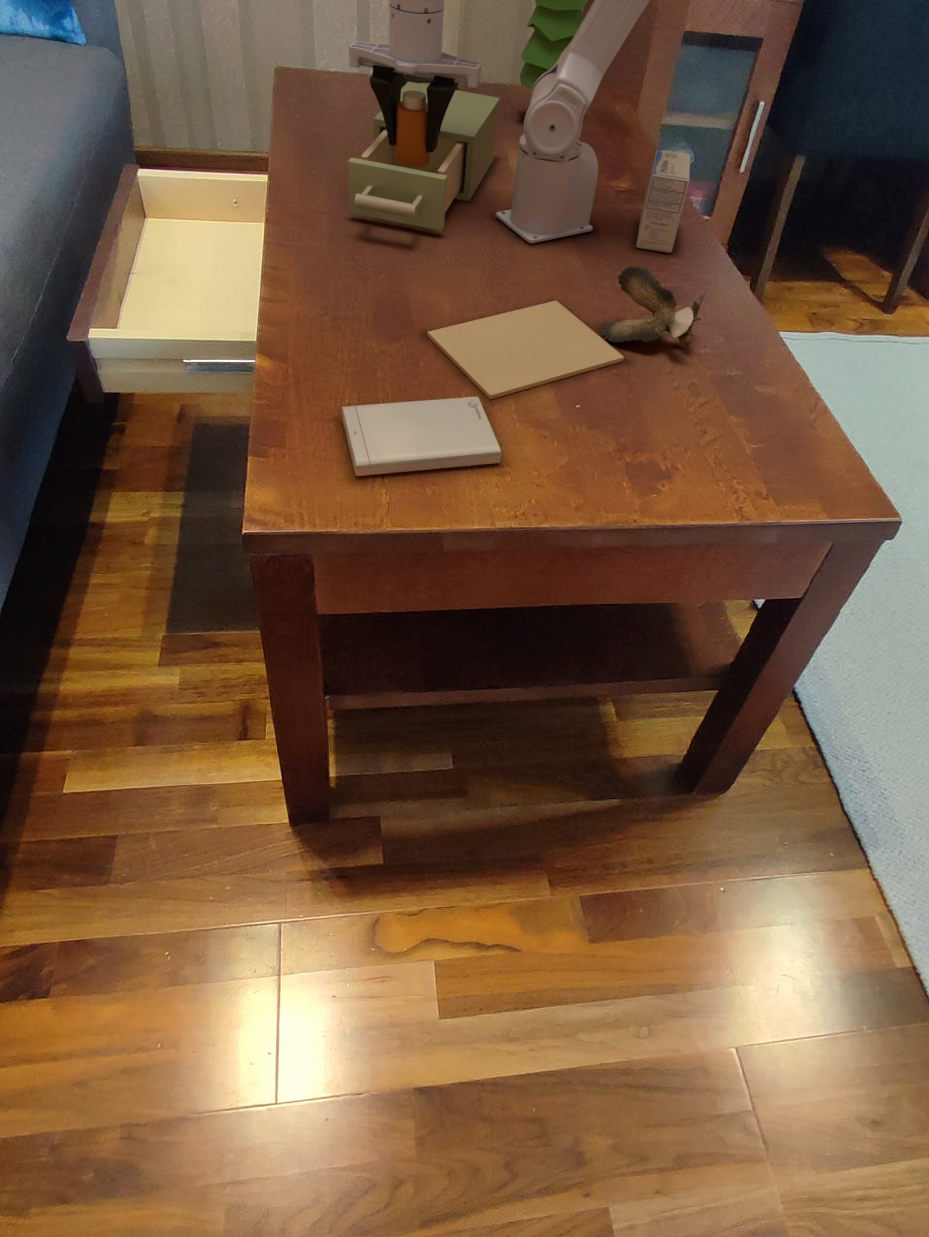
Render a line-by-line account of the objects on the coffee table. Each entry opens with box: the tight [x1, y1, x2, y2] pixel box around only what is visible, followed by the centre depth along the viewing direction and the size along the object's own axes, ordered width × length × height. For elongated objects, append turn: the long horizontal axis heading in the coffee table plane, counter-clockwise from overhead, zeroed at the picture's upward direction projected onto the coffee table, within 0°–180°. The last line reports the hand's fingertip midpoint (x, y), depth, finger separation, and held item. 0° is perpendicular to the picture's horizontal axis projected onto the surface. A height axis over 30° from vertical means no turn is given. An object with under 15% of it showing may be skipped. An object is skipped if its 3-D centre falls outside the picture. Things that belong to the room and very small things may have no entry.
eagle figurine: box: [599, 265, 706, 350], centre depth 85 cm, size 8×7×9 cm
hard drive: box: [341, 396, 502, 477], centre depth 72 cm, size 2×8×12 cm
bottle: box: [396, 90, 430, 167], centre depth 96 cm, size 4×4×7 cm
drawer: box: [347, 128, 467, 231], centre depth 99 cm, size 18×11×6 cm, turn 166°
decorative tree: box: [519, 0, 589, 90], centre depth 115 cm, size 10×9×30 cm
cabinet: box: [373, 82, 501, 202], centre depth 108 cm, size 15×13×8 cm
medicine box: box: [635, 149, 692, 254], centre depth 100 cm, size 8×4×9 cm, turn 168°
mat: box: [426, 300, 625, 400], centre depth 84 cm, size 16×12×1 cm
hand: (412, 145), depth 98 cm, fingers closed on bottle, 4 cm apart
